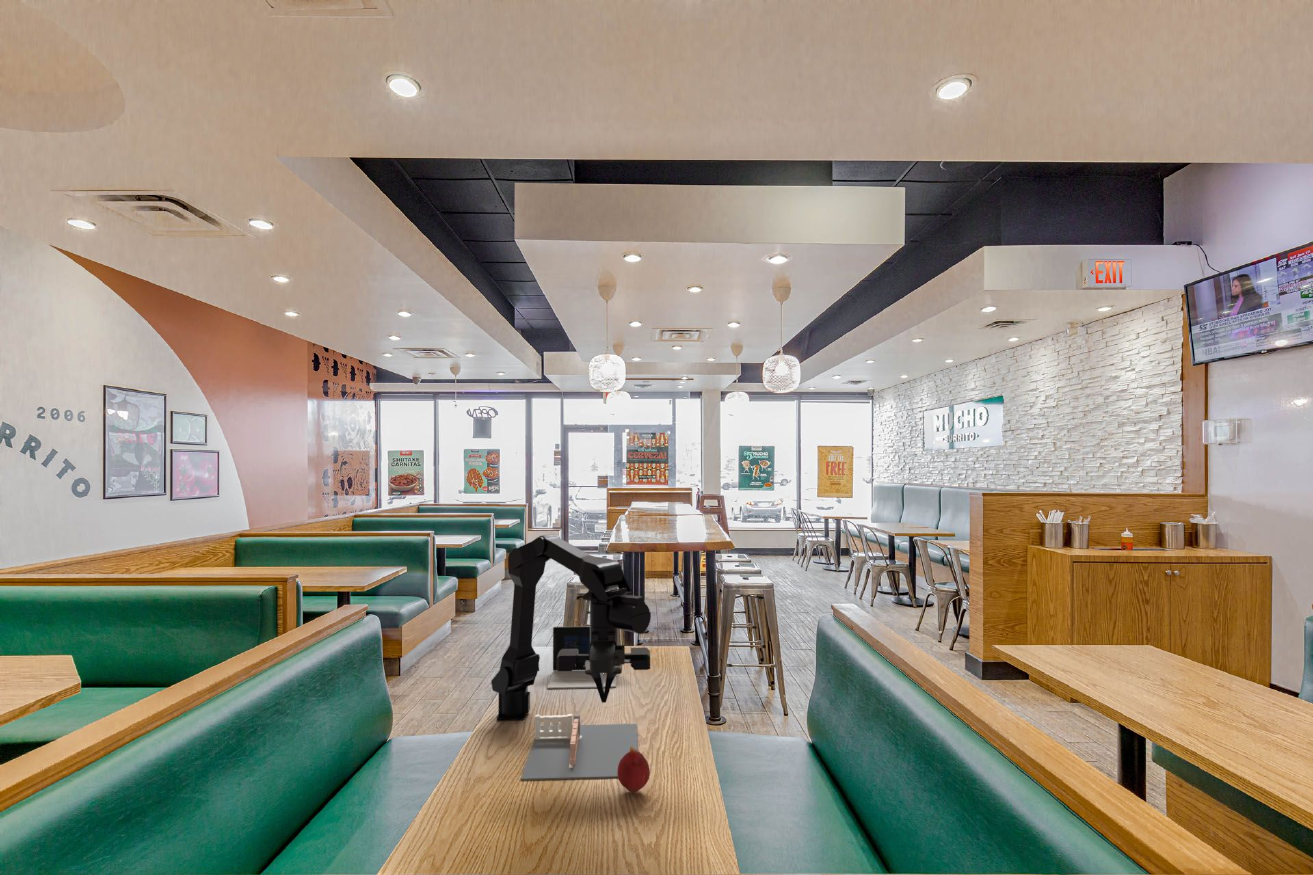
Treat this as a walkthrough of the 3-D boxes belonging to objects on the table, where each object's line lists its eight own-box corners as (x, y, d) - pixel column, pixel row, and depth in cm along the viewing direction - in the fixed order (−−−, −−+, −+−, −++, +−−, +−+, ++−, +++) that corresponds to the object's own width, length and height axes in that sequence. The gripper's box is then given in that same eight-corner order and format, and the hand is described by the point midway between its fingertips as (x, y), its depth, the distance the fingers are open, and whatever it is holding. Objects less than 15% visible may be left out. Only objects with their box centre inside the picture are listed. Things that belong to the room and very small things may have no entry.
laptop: (546, 690, 154) (547, 639, 155) (552, 673, 167) (553, 626, 167) (616, 689, 155) (616, 638, 156) (616, 672, 168) (616, 625, 168)
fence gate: (573, 735, 128) (573, 714, 128) (580, 734, 128) (580, 714, 128) (568, 766, 114) (568, 743, 115) (576, 766, 115) (576, 743, 115)
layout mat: (520, 780, 111) (520, 778, 111) (538, 727, 132) (538, 725, 133) (638, 777, 112) (638, 775, 112) (637, 725, 134) (637, 723, 134)
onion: (654, 786, 108) (654, 742, 109) (643, 804, 103) (643, 757, 103) (624, 781, 110) (624, 737, 110) (612, 797, 105) (612, 751, 105)
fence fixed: (534, 739, 126) (535, 716, 126) (535, 737, 127) (535, 714, 127) (571, 738, 126) (571, 715, 127) (572, 736, 127) (572, 713, 128)
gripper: (552, 636, 112) (552, 720, 112) (651, 635, 113) (651, 718, 113) (559, 620, 123) (559, 696, 123) (649, 619, 124) (649, 694, 124)
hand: (603, 701), depth 120 cm, fingers closed
